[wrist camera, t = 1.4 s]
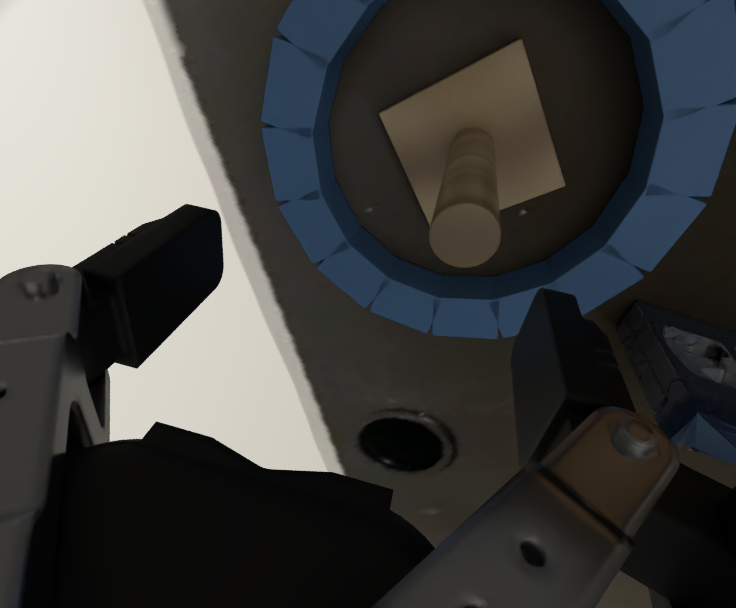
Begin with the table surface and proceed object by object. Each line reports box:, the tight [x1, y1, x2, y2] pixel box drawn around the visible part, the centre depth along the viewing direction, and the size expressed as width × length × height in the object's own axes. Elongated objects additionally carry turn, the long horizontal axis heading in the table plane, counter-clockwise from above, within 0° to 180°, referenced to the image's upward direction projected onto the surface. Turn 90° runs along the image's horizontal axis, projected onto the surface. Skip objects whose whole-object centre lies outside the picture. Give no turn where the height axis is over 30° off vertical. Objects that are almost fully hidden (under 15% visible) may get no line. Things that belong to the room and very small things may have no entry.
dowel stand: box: [379, 38, 565, 268], centre depth 20 cm, size 8×8×13 cm
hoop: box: [261, 0, 736, 339], centre depth 24 cm, size 23×23×3 cm
